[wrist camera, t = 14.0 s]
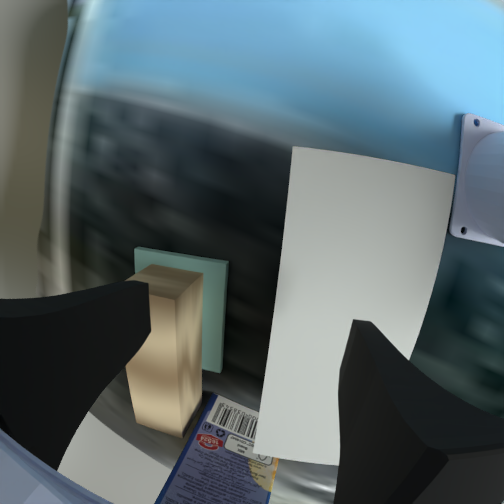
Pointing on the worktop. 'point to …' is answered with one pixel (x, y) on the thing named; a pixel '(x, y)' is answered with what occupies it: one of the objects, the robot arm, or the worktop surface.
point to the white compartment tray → (344, 285)
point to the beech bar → (169, 352)
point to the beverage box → (221, 460)
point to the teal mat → (212, 296)
